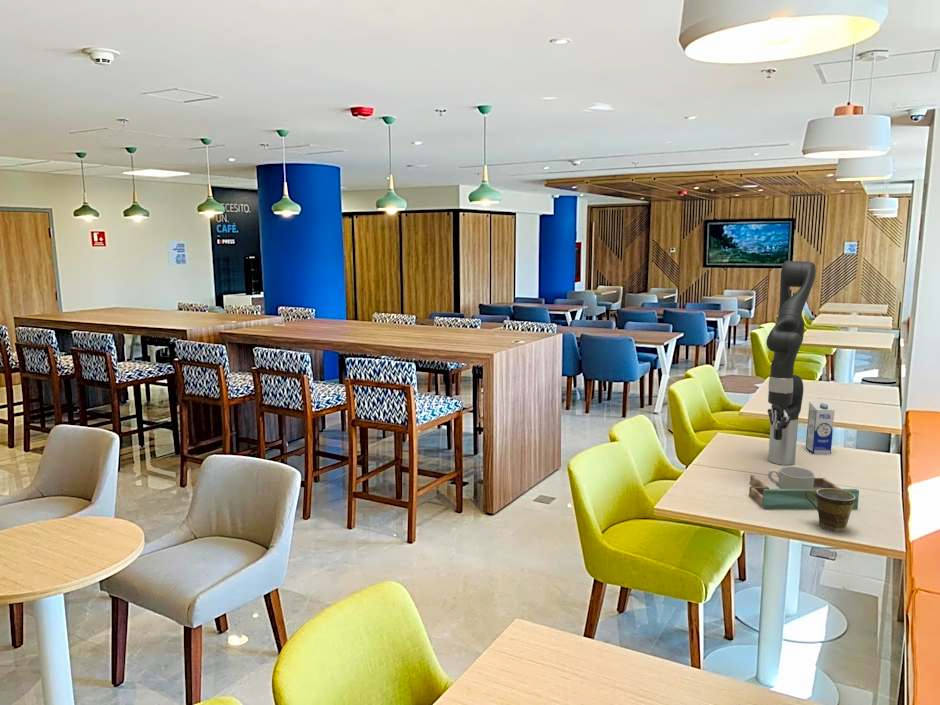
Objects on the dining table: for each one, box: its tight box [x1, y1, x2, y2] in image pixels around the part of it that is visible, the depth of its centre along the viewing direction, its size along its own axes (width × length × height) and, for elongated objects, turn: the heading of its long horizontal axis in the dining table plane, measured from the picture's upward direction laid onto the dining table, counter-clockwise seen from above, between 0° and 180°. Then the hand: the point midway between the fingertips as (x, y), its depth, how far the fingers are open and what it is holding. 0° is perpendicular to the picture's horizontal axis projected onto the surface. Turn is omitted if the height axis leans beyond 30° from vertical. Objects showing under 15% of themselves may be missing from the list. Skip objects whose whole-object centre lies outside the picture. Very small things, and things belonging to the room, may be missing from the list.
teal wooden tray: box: [748, 474, 860, 510], centre depth 223 cm, size 23×29×6 cm
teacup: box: [767, 465, 816, 489], centre depth 225 cm, size 14×11×8 cm
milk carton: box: [805, 401, 835, 455], centre depth 269 cm, size 7×7×20 cm
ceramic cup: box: [805, 488, 855, 532], centre depth 199 cm, size 13×10×10 cm
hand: (777, 439), depth 235 cm, fingers closed
